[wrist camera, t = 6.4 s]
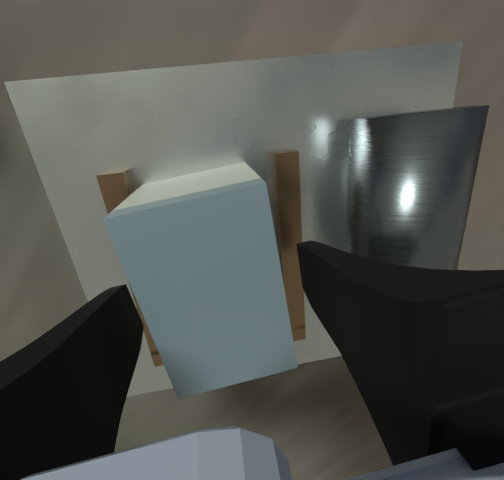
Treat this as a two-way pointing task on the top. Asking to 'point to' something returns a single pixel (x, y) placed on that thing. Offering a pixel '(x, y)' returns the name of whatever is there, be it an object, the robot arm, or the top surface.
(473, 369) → the robot arm
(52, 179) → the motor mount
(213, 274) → the block
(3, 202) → the top surface
